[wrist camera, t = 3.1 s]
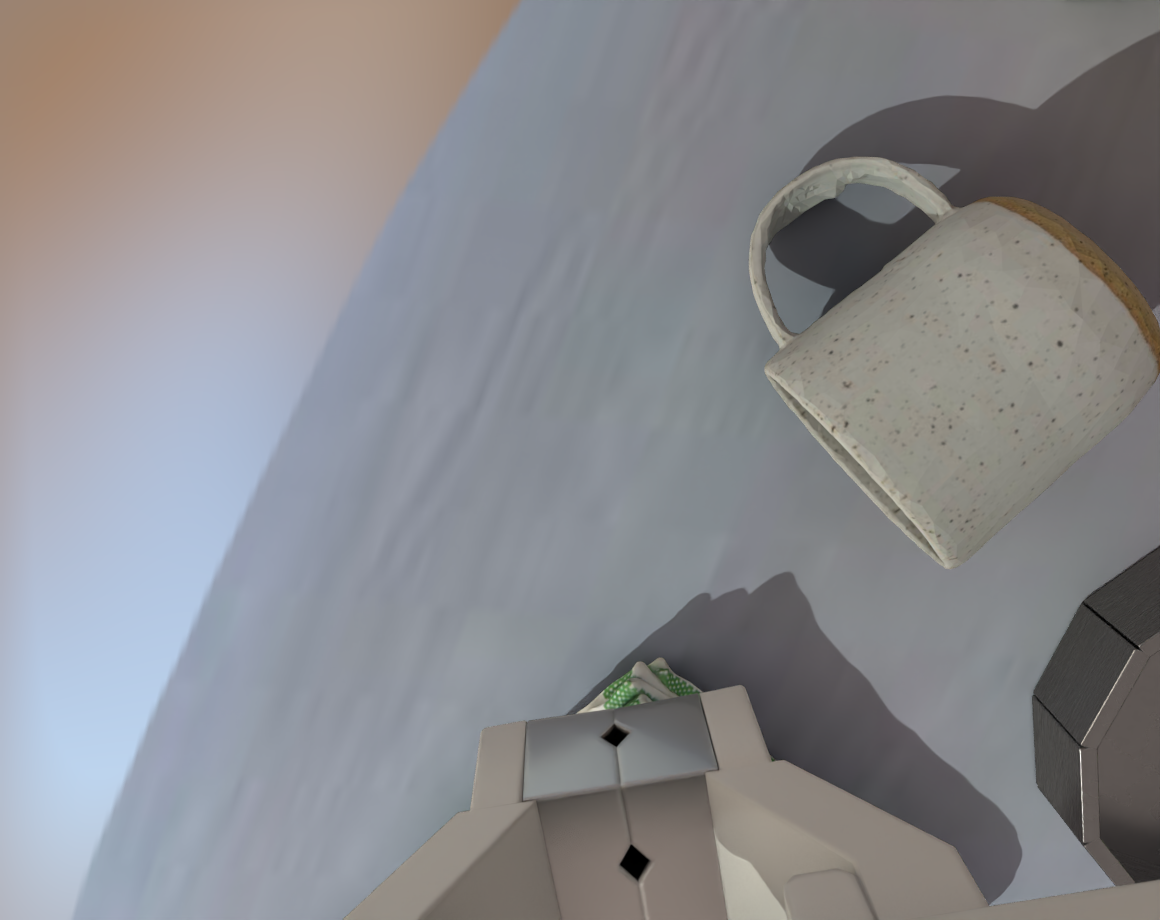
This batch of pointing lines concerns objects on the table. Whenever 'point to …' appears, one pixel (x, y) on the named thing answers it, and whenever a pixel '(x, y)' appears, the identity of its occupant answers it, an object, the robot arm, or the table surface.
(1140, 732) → the steel pan
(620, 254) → the table surface
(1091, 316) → the ceramic mug
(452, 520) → the table surface
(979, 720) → the table surface
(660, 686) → the dish towel
